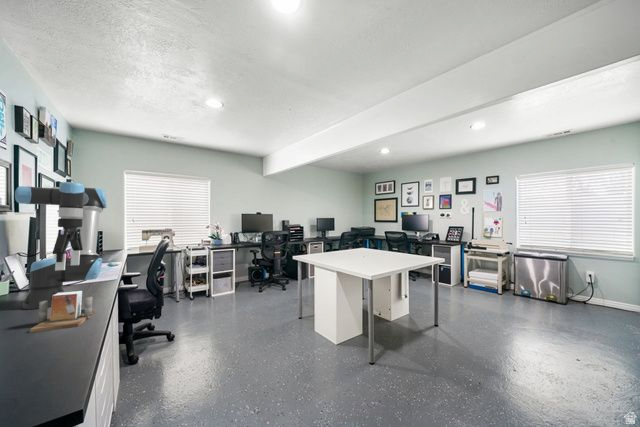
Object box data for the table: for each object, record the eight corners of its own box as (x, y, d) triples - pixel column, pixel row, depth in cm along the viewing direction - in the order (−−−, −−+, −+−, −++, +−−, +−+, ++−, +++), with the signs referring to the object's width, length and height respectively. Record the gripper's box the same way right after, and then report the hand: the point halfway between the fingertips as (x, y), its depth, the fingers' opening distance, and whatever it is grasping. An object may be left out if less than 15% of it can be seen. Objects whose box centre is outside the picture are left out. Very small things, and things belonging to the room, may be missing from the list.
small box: (49, 321, 102) (51, 295, 102) (56, 317, 107) (58, 292, 107) (75, 318, 105) (77, 293, 106) (81, 314, 110) (82, 290, 111)
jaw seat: (50, 317, 110) (51, 296, 111) (98, 311, 118) (99, 292, 118) (24, 333, 94) (26, 308, 95) (82, 325, 101) (83, 302, 102)
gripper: (72, 218, 117) (69, 263, 116) (42, 217, 95) (39, 273, 94) (92, 218, 121) (90, 262, 120) (68, 217, 98) (65, 271, 97)
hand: (67, 267), depth 107 cm, fingers open, 13 cm apart
